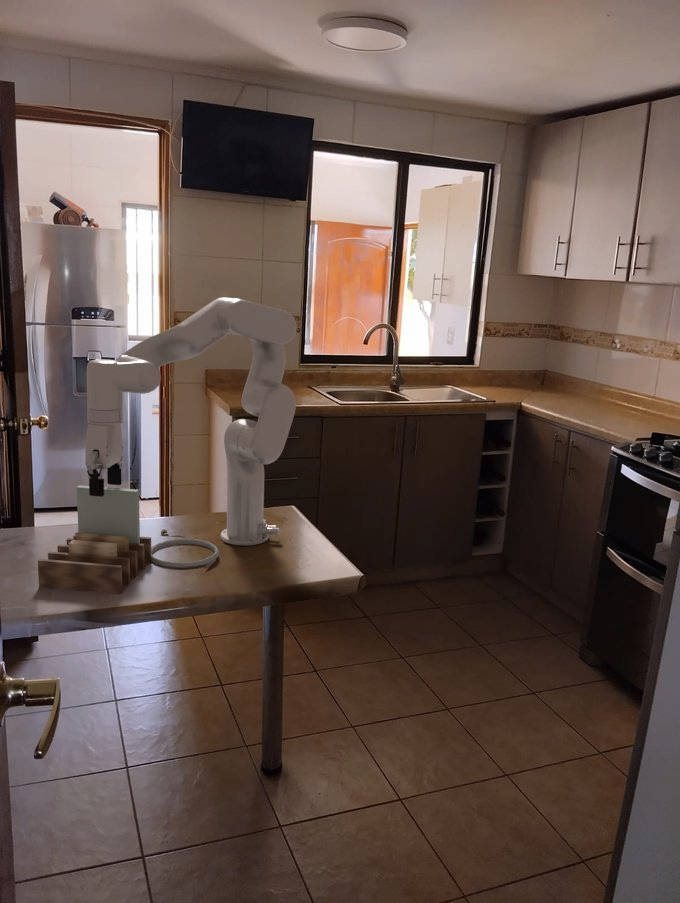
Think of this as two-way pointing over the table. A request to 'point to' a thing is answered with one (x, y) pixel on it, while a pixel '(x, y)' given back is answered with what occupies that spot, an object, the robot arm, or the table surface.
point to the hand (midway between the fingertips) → (105, 490)
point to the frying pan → (184, 541)
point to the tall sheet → (109, 513)
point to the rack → (94, 568)
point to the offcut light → (93, 548)
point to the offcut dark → (104, 539)
